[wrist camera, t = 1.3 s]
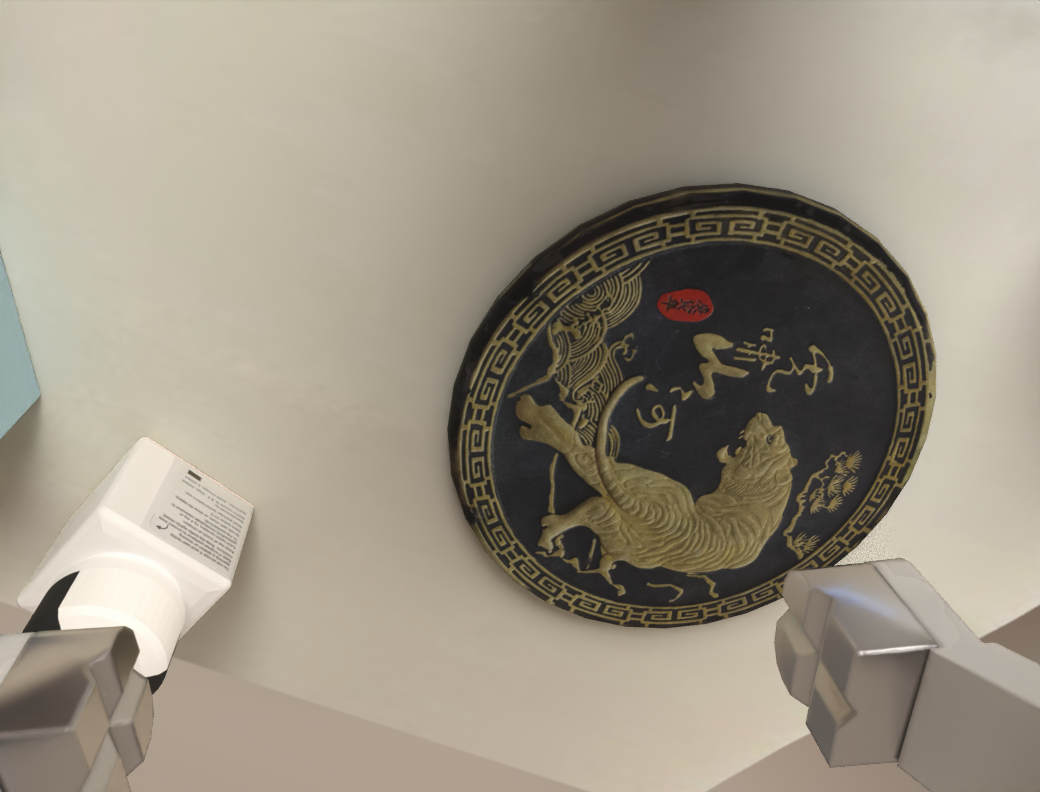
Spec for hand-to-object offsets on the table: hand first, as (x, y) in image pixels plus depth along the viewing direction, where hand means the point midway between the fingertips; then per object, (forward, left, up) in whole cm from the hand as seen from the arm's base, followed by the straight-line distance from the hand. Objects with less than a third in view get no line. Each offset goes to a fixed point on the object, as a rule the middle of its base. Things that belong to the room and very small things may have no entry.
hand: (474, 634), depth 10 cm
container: (+21, -17, -35) cm, 44 cm away
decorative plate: (+17, +15, -35) cm, 42 cm away
